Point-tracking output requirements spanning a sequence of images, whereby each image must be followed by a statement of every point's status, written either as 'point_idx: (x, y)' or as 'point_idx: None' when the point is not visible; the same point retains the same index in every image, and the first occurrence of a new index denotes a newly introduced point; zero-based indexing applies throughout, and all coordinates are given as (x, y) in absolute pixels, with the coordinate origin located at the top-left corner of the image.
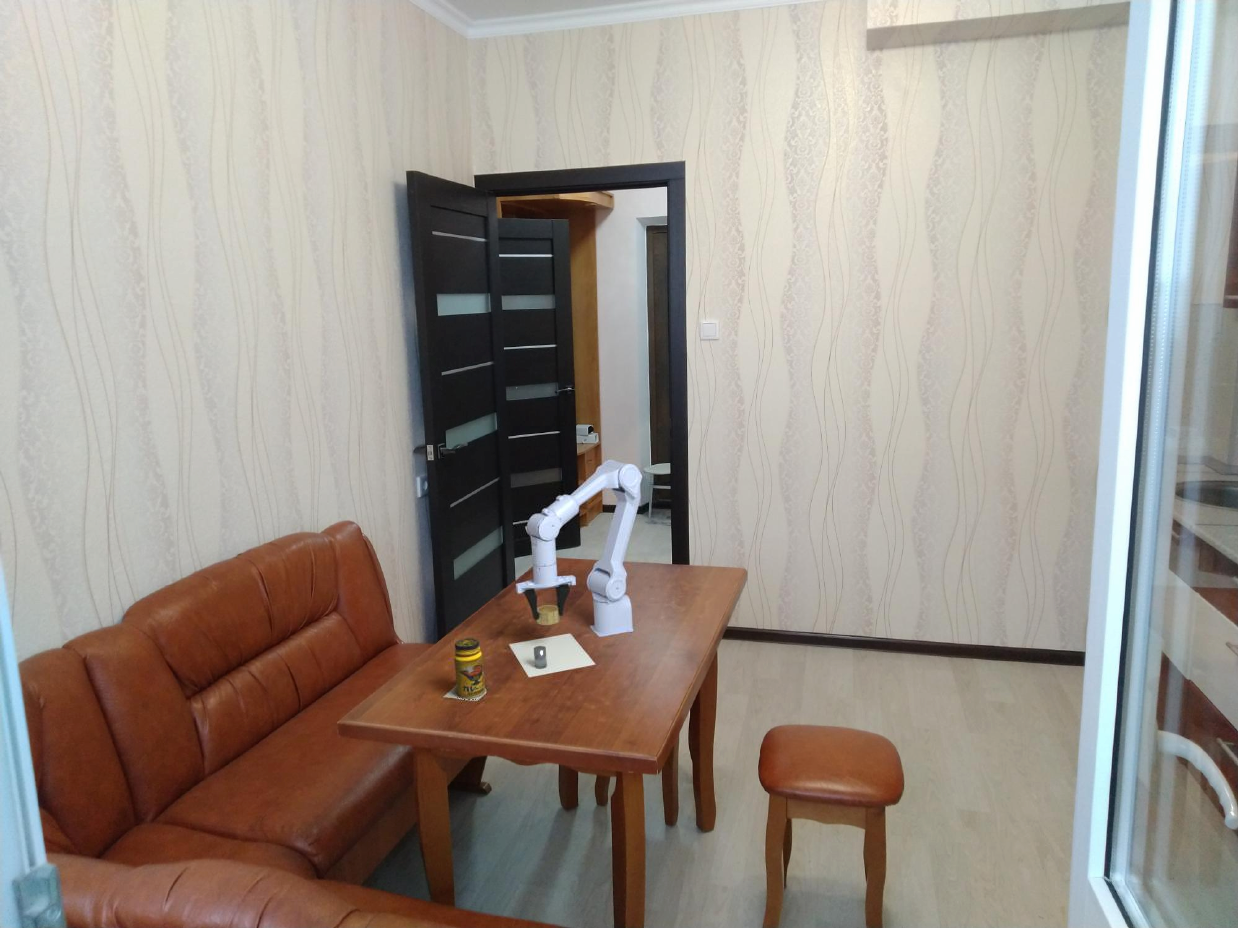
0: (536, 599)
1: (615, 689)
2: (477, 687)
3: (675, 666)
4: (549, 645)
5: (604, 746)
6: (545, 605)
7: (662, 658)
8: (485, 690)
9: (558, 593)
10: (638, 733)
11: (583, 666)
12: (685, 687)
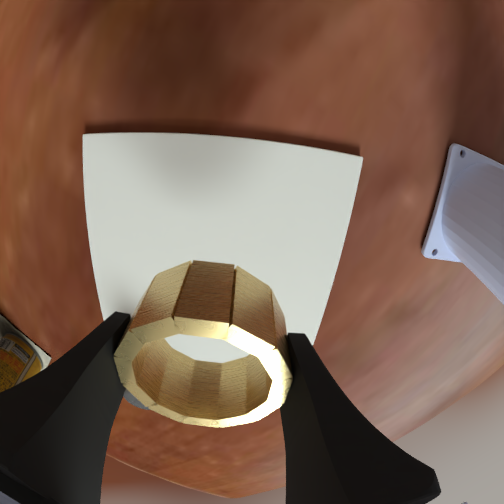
0: (97, 485)
1: (270, 451)
2: None
3: (402, 424)
4: (228, 230)
5: (196, 487)
6: (208, 321)
7: (416, 400)
8: (43, 361)
9: (303, 491)
10: (238, 489)
11: None
12: None
